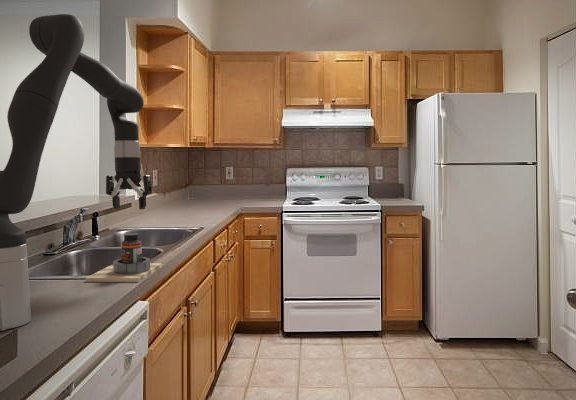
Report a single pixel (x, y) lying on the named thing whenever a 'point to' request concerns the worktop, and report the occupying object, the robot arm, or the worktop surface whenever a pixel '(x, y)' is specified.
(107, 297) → the worktop surface
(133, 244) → the supplement bottle
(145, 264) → the collar
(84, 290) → the worktop surface
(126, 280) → the base board
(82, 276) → the worktop surface
